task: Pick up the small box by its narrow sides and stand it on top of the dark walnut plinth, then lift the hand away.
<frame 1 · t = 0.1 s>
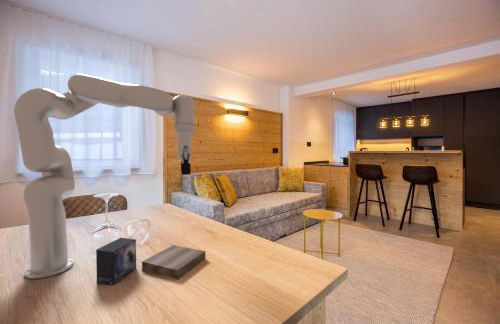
hand: (185, 173, 92), 31 cm above the table, tool pointing down, fingers open, 9 cm apart
plinth: (175, 264, 83), on the table
small box: (117, 276, 76), on the table
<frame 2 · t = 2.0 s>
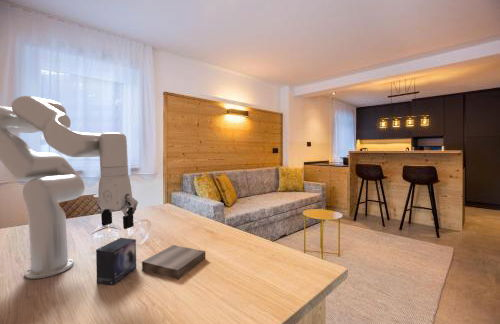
hand: (117, 226, 75), 16 cm above the table, tool pointing down, fingers open, 9 cm apart
nothing on the table moved.
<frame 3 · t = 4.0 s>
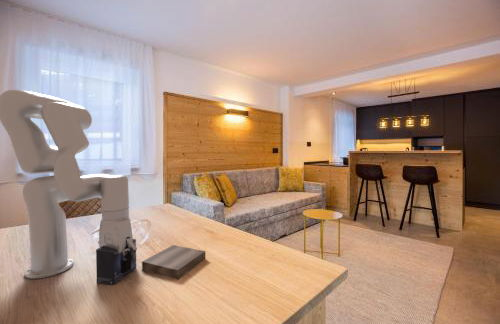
hand: (117, 268, 76), 2 cm above the table, tool pointing down, fingers closed on small box, 7 cm apart
small box: (117, 276, 76), on the table, touching gripper
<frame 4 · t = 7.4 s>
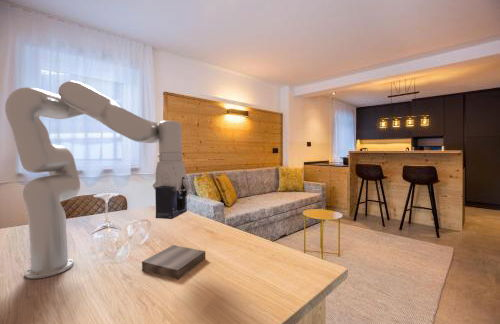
hand: (172, 208, 82), 20 cm above the table, tool pointing down, fingers closed on small box, 7 cm apart
small box: (172, 215, 82), point 17 cm above the table, touching gripper
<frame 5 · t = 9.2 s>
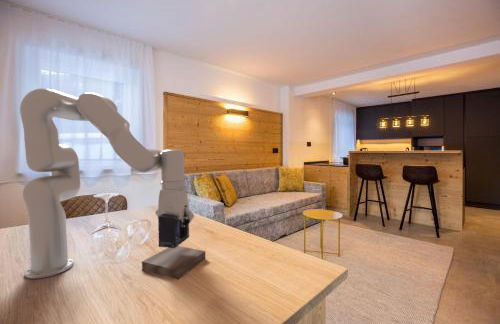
hand: (174, 235, 83), 10 cm above the table, tool pointing down, fingers closed on small box, 7 cm apart
small box: (175, 242, 83), point 8 cm above the table, touching gripper
when the fingers open (7 cm above the table, at t = 10.9 s): small box drops 1 cm, resting on plinth.
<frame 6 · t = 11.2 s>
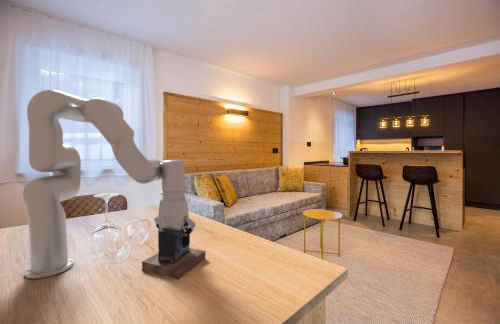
hand: (174, 244, 83), 7 cm above the table, tool pointing down, fingers open, 9 cm apart
small box: (174, 256, 83), point 3 cm above the table, touching plinth
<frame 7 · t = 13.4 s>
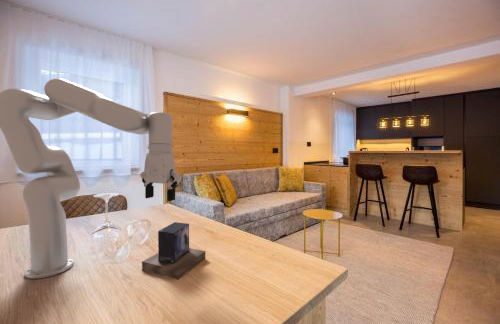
hand: (160, 199, 82), 23 cm above the table, tool pointing down, fingers open, 9 cm apart
nothing on the table moved.
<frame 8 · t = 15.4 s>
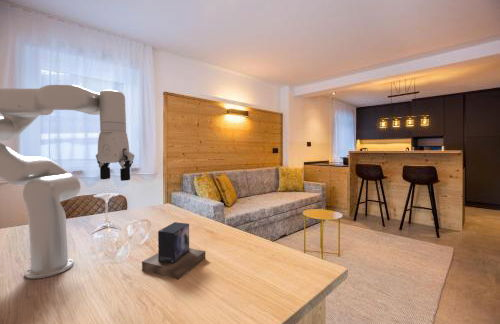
hand: (115, 179, 80), 30 cm above the table, tool pointing down, fingers open, 9 cm apart
nothing on the table moved.
at the end: small box inside the target area on the plinth (0.1 cm from its centre), point 2.8 cm above the plinth's base; small box tilted 0°; the gripper is holding nothing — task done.
